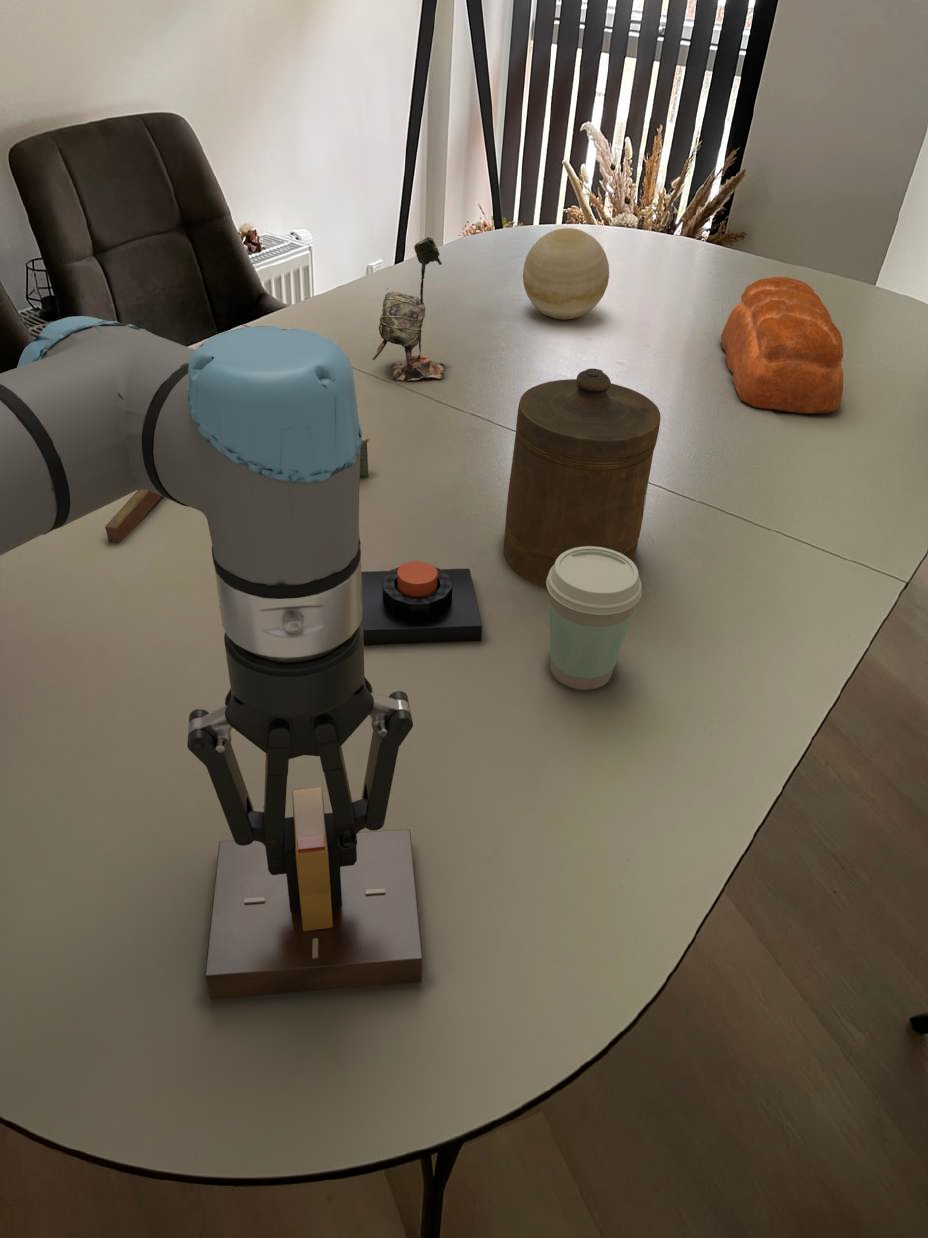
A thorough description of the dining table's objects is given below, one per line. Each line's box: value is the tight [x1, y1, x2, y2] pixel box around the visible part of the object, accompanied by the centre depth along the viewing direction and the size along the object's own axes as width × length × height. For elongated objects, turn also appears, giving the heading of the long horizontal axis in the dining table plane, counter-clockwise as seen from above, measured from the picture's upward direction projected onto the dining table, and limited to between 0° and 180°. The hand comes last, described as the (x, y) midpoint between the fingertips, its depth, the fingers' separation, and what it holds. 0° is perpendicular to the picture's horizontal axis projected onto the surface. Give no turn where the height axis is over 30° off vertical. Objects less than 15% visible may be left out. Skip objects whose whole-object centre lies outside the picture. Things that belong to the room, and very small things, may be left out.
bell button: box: [397, 560, 438, 597], centre depth 95 cm, size 4×4×2 cm
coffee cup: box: [546, 546, 643, 691], centre depth 88 cm, size 8×8×12 cm
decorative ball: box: [522, 227, 610, 321], centre depth 165 cm, size 15×15×15 cm
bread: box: [720, 276, 844, 414], centre depth 149 cm, size 16×31×13 cm, turn 174°
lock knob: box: [291, 786, 333, 931], centre depth 63 cm, size 6×2×8 cm, turn 11°
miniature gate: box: [104, 438, 370, 544], centre depth 114 cm, size 27×6×30 cm
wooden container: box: [502, 368, 661, 589], centre depth 101 cm, size 15×15×22 cm
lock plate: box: [204, 828, 424, 1000], centre depth 67 cm, size 14×11×3 cm
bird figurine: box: [371, 236, 447, 381], centre depth 141 cm, size 8×11×20 cm
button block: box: [361, 566, 483, 646], centre depth 96 cm, size 12×10×4 cm
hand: (315, 892), depth 66 cm, fingers closed on lock knob, 2 cm apart
